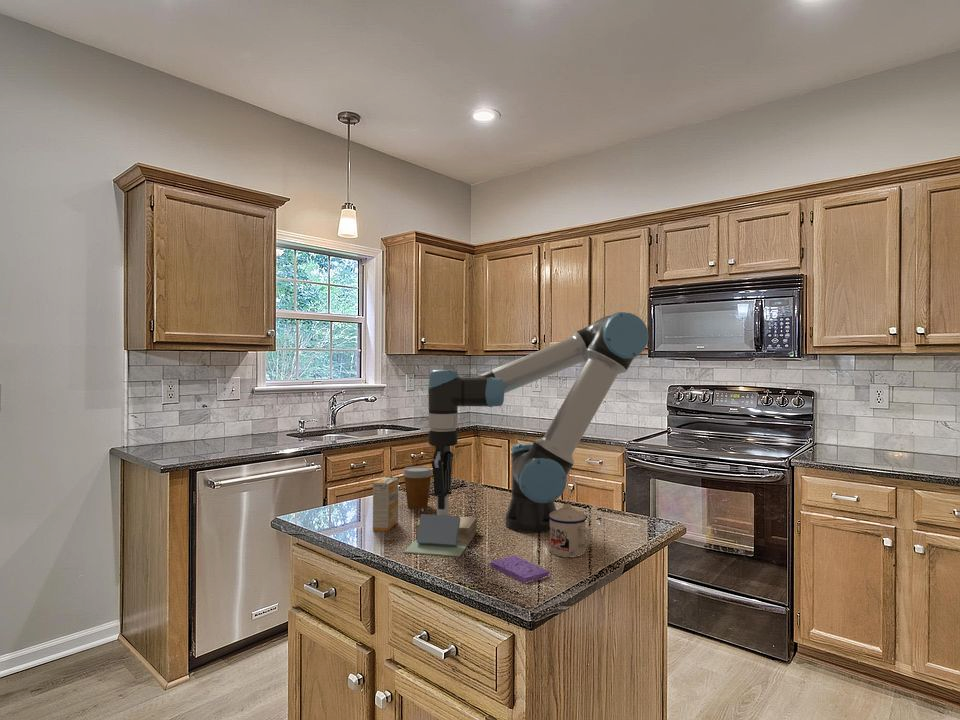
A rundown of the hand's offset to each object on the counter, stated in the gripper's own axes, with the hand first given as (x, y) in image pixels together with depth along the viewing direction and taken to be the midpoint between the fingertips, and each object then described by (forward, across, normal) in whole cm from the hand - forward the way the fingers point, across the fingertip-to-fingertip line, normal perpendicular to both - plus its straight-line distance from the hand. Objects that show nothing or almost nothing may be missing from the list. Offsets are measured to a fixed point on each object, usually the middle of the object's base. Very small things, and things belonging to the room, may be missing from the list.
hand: (442, 520), depth 149 cm
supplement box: (+6, -9, -19) cm, 22 cm away
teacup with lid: (+5, +3, +33) cm, 34 cm away
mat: (+5, +6, 0) cm, 8 cm away
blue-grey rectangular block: (+2, +2, 0) cm, 3 cm away
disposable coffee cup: (+6, -32, -17) cm, 37 cm away
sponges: (+6, +17, +22) cm, 29 cm away
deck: (+5, -4, 0) cm, 7 cm away
